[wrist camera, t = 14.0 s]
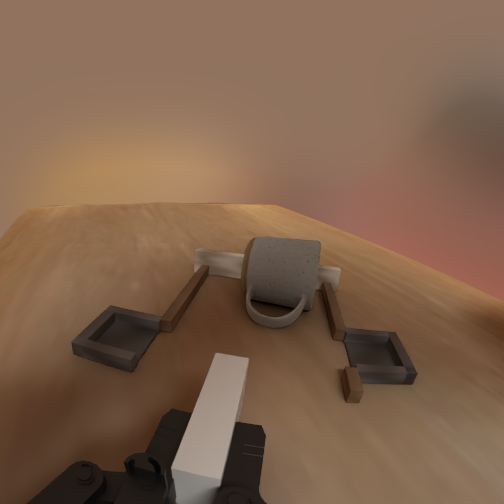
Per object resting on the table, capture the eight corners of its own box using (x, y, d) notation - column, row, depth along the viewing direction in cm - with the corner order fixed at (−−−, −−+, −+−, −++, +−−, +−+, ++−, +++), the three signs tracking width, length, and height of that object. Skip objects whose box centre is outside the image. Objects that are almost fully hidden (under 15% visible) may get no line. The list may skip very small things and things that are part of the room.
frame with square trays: (365, 292, 42) (370, 272, 41) (422, 407, 20) (437, 377, 19) (165, 264, 44) (166, 243, 43) (73, 354, 22) (67, 322, 21)
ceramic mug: (248, 282, 41) (255, 224, 38) (312, 293, 40) (323, 235, 37) (227, 323, 31) (234, 249, 28) (310, 338, 30) (326, 264, 27)
